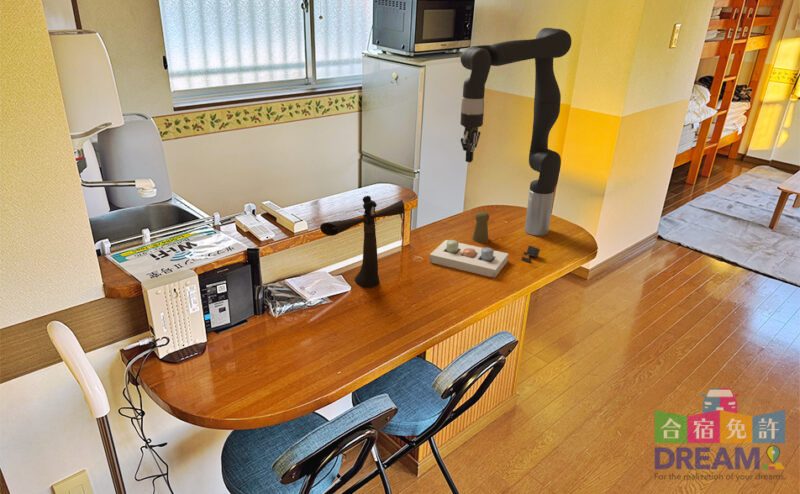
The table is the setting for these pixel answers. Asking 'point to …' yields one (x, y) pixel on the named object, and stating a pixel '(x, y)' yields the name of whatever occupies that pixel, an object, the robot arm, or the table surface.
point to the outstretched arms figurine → (365, 237)
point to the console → (469, 260)
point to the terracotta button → (469, 252)
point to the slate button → (487, 254)
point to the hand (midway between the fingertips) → (469, 161)
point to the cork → (481, 227)
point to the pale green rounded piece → (452, 246)
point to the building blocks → (531, 253)
